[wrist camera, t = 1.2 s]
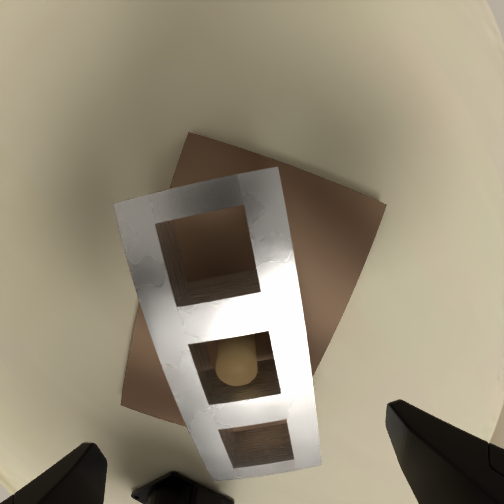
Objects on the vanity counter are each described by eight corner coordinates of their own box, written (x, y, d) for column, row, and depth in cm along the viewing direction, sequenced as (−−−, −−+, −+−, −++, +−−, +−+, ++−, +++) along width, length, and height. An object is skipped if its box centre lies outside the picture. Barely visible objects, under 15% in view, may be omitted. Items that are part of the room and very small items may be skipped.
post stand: (272, 437, 19) (279, 495, 14) (124, 397, 18) (99, 451, 13) (380, 203, 16) (432, 215, 11) (191, 134, 14) (168, 115, 10)
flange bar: (312, 429, 16) (321, 464, 13) (215, 445, 16) (213, 481, 13) (270, 168, 13) (278, 166, 10) (138, 197, 13) (113, 203, 10)
